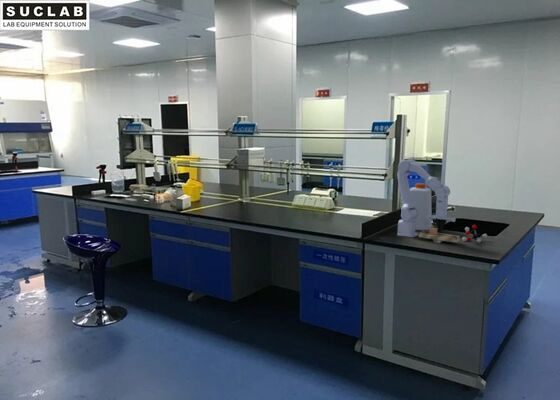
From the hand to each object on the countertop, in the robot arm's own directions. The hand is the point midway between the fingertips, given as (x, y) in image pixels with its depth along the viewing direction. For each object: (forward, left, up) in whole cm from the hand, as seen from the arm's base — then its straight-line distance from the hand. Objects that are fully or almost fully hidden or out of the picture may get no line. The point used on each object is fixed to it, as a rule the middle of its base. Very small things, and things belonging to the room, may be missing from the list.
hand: (439, 232), depth 234 cm
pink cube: (-3, 0, -2) cm, 4 cm away
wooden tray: (0, 0, -5) cm, 5 cm away
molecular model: (+15, +12, -5) cm, 20 cm away
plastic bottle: (-20, +25, -5) cm, 33 cm away
